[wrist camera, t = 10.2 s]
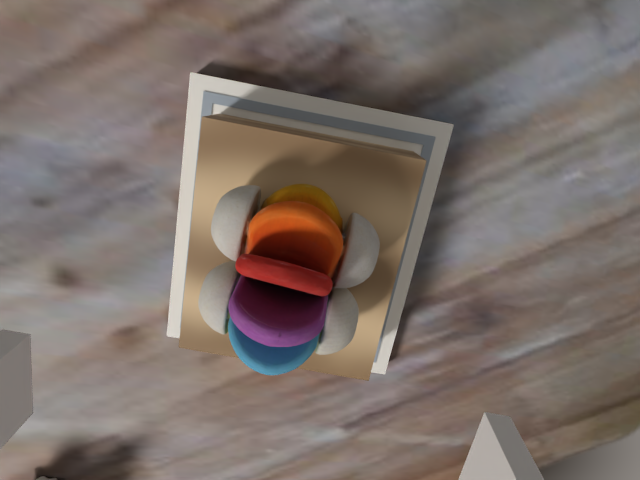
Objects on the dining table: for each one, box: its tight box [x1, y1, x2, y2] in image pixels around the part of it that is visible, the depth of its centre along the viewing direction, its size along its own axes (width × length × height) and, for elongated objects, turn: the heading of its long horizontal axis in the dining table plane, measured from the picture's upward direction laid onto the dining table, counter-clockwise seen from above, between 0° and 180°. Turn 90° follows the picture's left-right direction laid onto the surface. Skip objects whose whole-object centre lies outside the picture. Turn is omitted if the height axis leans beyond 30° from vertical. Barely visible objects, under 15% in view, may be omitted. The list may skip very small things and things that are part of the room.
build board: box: [167, 72, 454, 374], centre depth 30 cm, size 18×16×1 cm
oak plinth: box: [179, 114, 427, 381], centre depth 27 cm, size 14×12×4 cm
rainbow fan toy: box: [198, 184, 380, 375], centre depth 22 cm, size 8×10×7 cm
